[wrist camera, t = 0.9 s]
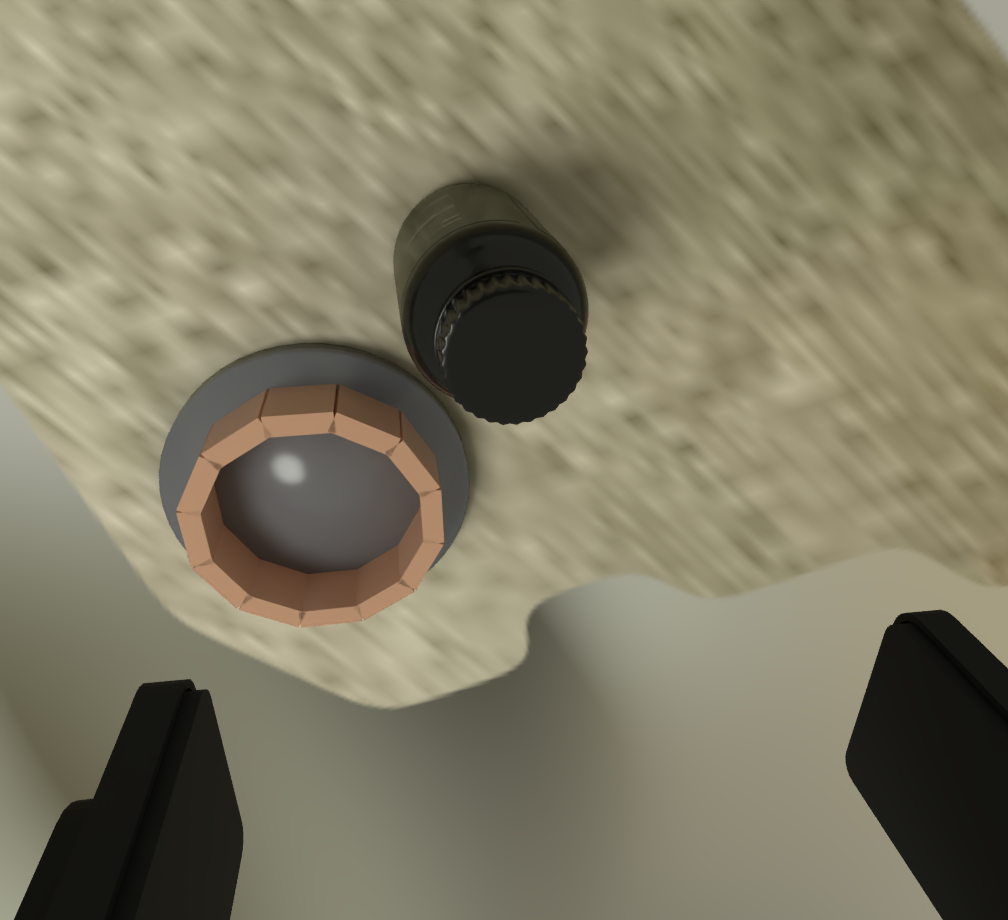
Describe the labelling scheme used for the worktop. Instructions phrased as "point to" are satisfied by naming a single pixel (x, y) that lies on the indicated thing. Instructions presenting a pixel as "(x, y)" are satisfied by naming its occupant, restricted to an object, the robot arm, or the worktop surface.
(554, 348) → the supplement bottle
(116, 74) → the worktop surface
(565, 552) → the worktop surface
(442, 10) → the worktop surface
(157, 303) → the worktop surface
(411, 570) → the bottle holder
